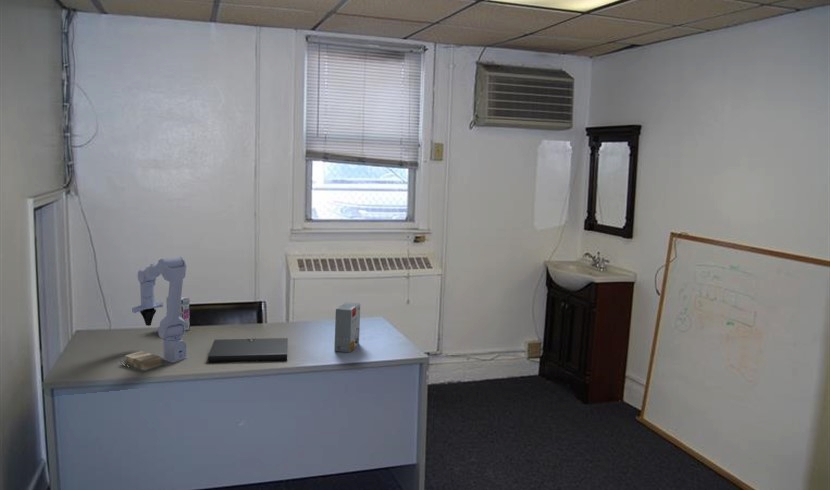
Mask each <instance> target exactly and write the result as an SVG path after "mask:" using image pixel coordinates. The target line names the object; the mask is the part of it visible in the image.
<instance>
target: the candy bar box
mask: <svg viewBox="0 0 830 490" xmlns="http://www.w3.org/2000/svg"><path fill="white" fill-rule="evenodd" d="M167 304H168V296H166V305H167ZM179 317H181V318H182V319H183V320H184V321H185V332H188V331H190V330H191V328H190V327H191V326H190V325H191V324H190V323H191V321H190V320H191V319H190V297H186V296H181V303H180V313H179Z"/></svg>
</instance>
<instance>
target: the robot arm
mask: <svg viewBox="0 0 830 490" xmlns="http://www.w3.org/2000/svg"><path fill="white" fill-rule="evenodd" d="M157 261H158V262H157V263H150V264H149V266H147V267H145V269H139V270H138V271H137V281H138V282H139V283H140V289H139V290H140V291H139V292H140V305H138V306H135V307H131V313H133V314H136V313H140V314H141V316H142V318H143V320H144V323H145V326H148V327H150V326H151V325H152V323H153V322H152V321H153V319H154V317H155V314H156V313H157V309H158V308H163V307H164V302H155V285H156V280H157V278H158V277H160V276H161V277H163V279H164V280H165V281H166V282H169V286H168V296H167V297H168V304H167V303H166V314H165V315H166V316H165V317H163V318H162V319H161V320H160V323H159V326H158V329H157V332H158V336H159V338H161V340H162V345H163V347H162V349H163V351H162V352H163V355H162V356H160V357H161V359H162V360H163V361H167V362H170V363H176V362H180V361H182V360H186V359H188V358H189V357H188V356H187V344H186V342H185V341H184V340H183V339H182V338H183V336H184V335H185V333H186V331H185V321H184V320H183V319H182V318H181V317H179V313H180V303H181V297H182V292H183V283H184V282H183V281H184V279H185V278H186V272H187V263H186V260H185V259H184V257H182V256H179V257H170V258H160V259H158V260H157Z"/></svg>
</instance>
